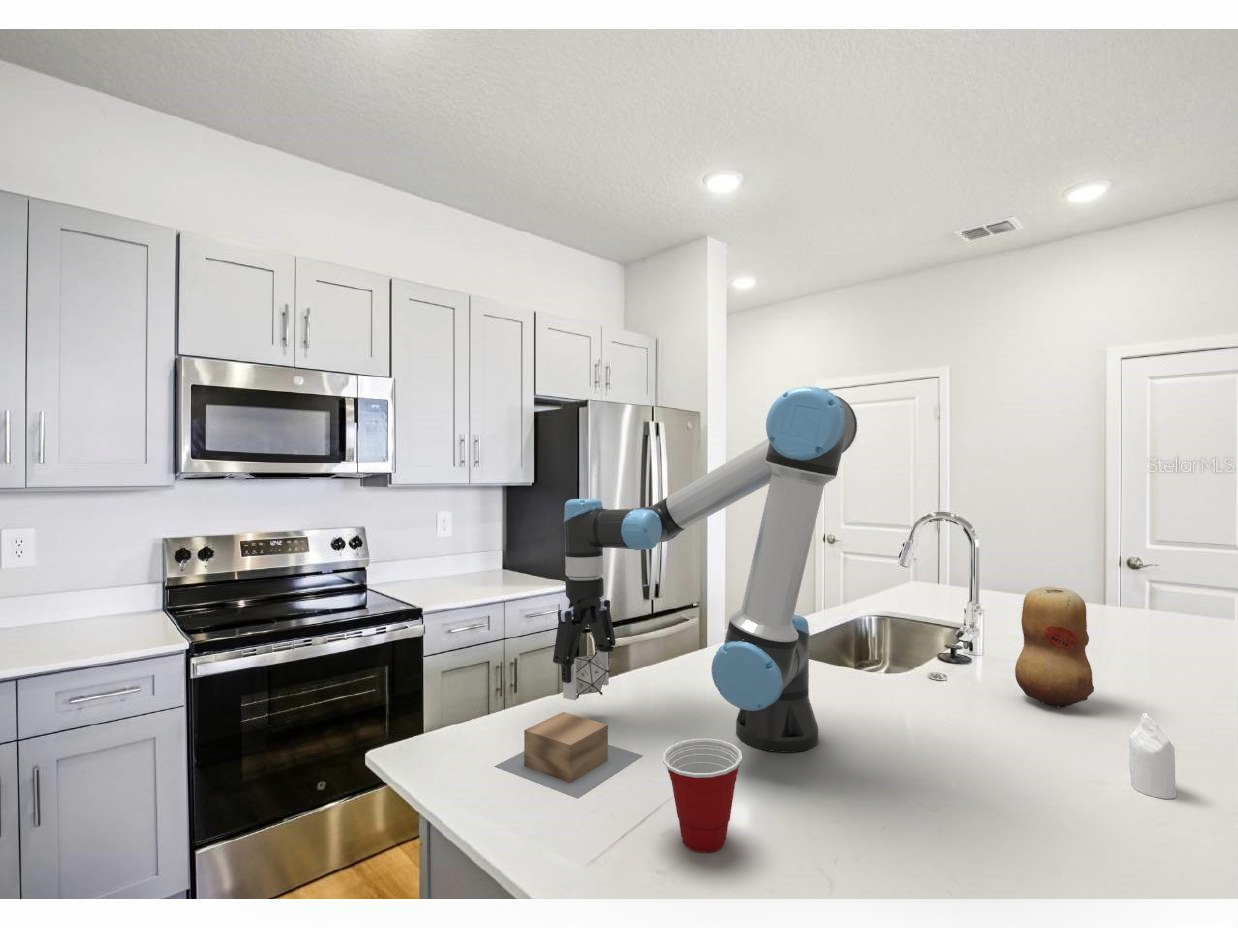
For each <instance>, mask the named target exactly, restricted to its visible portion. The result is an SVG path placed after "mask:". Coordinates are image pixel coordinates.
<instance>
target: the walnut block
mask: <svg viewBox="0 0 1238 928" xmlns="http://www.w3.org/2000/svg"><path fill="white" fill-rule="evenodd" d="M523 732H524V734H523V735H524V736H523V737H524V741H523V742H524V743H523V744H524V745H523V747H524V749H523V751H524V766H525V767H528V768H531V769H534V770H536V771H539V772H542V773H544V774H547V775H550V776H553V777H555V778H558V779H561V780H563V781H566V782H569V783H571V782H573V781H574V780H576V779H578V778H579V777H581V776H583V775H584V774H586V773H587V772H589V771H591V770H592V769H594V768H596V767H597V766H599V765H601V764H602V763H604V762H605V761H607V760H608V745H609V724H606V723H604V722H603V723H602V722H600V721H596V720H593V719H589V718H585V717H582V716H578V715H575V714H572V713H567V712H564V711H562V712H560V713H558V714H555V715H553V716H552V717H550V718H547V719H545V720H543V721H541V722H539V723H536V724H534V725H532V726H530V727H528V728H526V729H524V731H523Z"/></svg>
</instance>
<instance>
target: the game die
mask: <svg viewBox="0 0 1238 928" xmlns="http://www.w3.org/2000/svg"><path fill="white" fill-rule="evenodd" d="M595 651H596V652H595ZM595 651H594V654H592V655H591V654H590V655H583V656H575V658H574V661H573V664H574V665H576V688H577V699H579V696H580V695H587V694H588V695H589V694H595V693H598V694H599V695H601V696H603V692H602V691H601V690H602V687H603V686H604V685H603V682H604V679H605V676H606V673H607V672H608V673H611V671H612V670H611V669H608V670H606V669H605V668H604V666H603V665H602V663H601V662H600V661H599V659H598V658H597V656H596V655H597V651H598V650H595Z"/></svg>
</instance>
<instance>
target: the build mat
mask: <svg viewBox="0 0 1238 928" xmlns="http://www.w3.org/2000/svg"><path fill="white" fill-rule="evenodd" d="M643 757H644V755H643V754H639V753H636V752H633V751H630V750H626V749H624V748H620V747H617V746H614V745H611V744H610V745H609V744H608V760H607V761H605V762H604V763H602V764H601V765H599V766H597V767H596V768H594V769H592V770H591V771H589V772H587V773H586V774H584V775H583V776H581V777H579V778H578V779H576V780H574V781H573V782H571V783H569V782H566V781H563V780H561V779H558V778H555V777H553V776H550V775H547V774H544V773H542V772H539V771H536V770H534V769H531V768H528V767H525V766H524V750H523V751H522V752H520V753H518V754H516V755H514V756H512V757H510V758H508V759H506V760H504V761H501V762H499V763H498V764H496V765H494V767H495V768H497V769H500V770H502V771H504V772H506V773H509V774H513V775H515V776H516V777H517V776H518V777H520V778H523V779H526V780H528V781H531V782H533V783H536V784H539V785H542V786H544V787H547V788H549V789H551V790H554V791H557V792H559V793H562V794H564V795H566V796H570V797H572V798H575V799H580V798H581V797H583V796H585V795H586V794H587V793H589V792H591V791H592V790H594V789H595V788H597V787H598V786H599V785H601V784H603V783H604V782H606V781H607V780H609V779H611V778H612V777H613V776H614V775H617V774H618V773H620V772H621V771H622V770H625V769H626V768H627V767H629V766H630V765H632V764H633V763H635V762H637V761H638V760H639V759H641V758H643Z"/></svg>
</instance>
